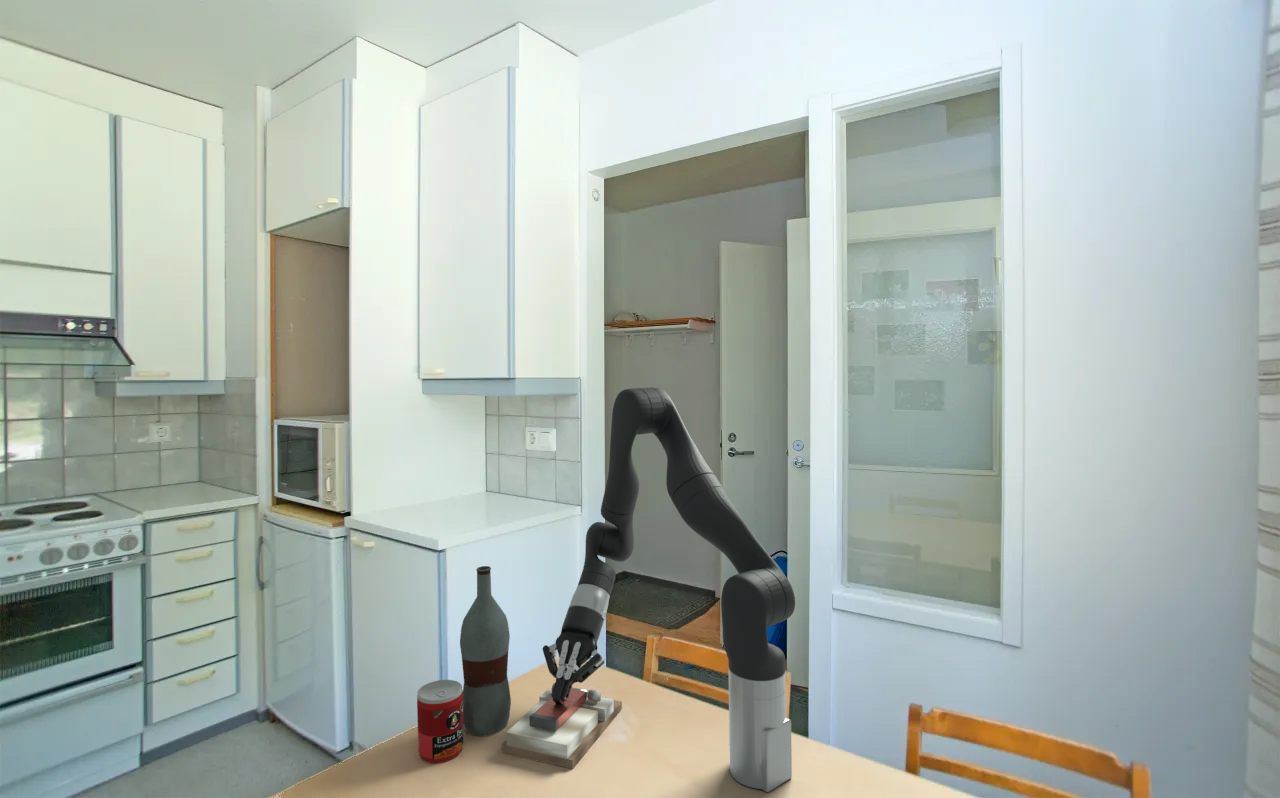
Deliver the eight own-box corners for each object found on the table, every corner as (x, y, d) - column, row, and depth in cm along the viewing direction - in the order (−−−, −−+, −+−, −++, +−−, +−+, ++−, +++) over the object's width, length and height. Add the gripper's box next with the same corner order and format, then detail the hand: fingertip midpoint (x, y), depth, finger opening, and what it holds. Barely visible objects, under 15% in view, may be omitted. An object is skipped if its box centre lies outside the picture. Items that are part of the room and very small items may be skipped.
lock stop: (565, 683, 123) (529, 715, 111) (589, 688, 121) (555, 721, 109) (566, 692, 123) (529, 726, 111) (589, 697, 121) (555, 731, 109)
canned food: (436, 769, 106) (434, 704, 105) (408, 753, 110) (407, 691, 110) (473, 748, 112) (472, 687, 112) (445, 734, 117) (444, 675, 116)
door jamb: (559, 697, 130) (559, 669, 130) (621, 709, 125) (621, 679, 125) (501, 752, 110) (501, 719, 110) (572, 769, 105) (572, 734, 105)
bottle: (488, 707, 126) (485, 558, 126) (521, 720, 121) (518, 565, 121) (450, 729, 118) (447, 570, 118) (485, 743, 113) (481, 577, 113)
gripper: (550, 600, 126) (518, 688, 115) (611, 608, 121) (583, 701, 110) (563, 617, 131) (534, 703, 120) (622, 625, 126) (597, 716, 115)
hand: (557, 702), depth 115 cm, fingers closed
